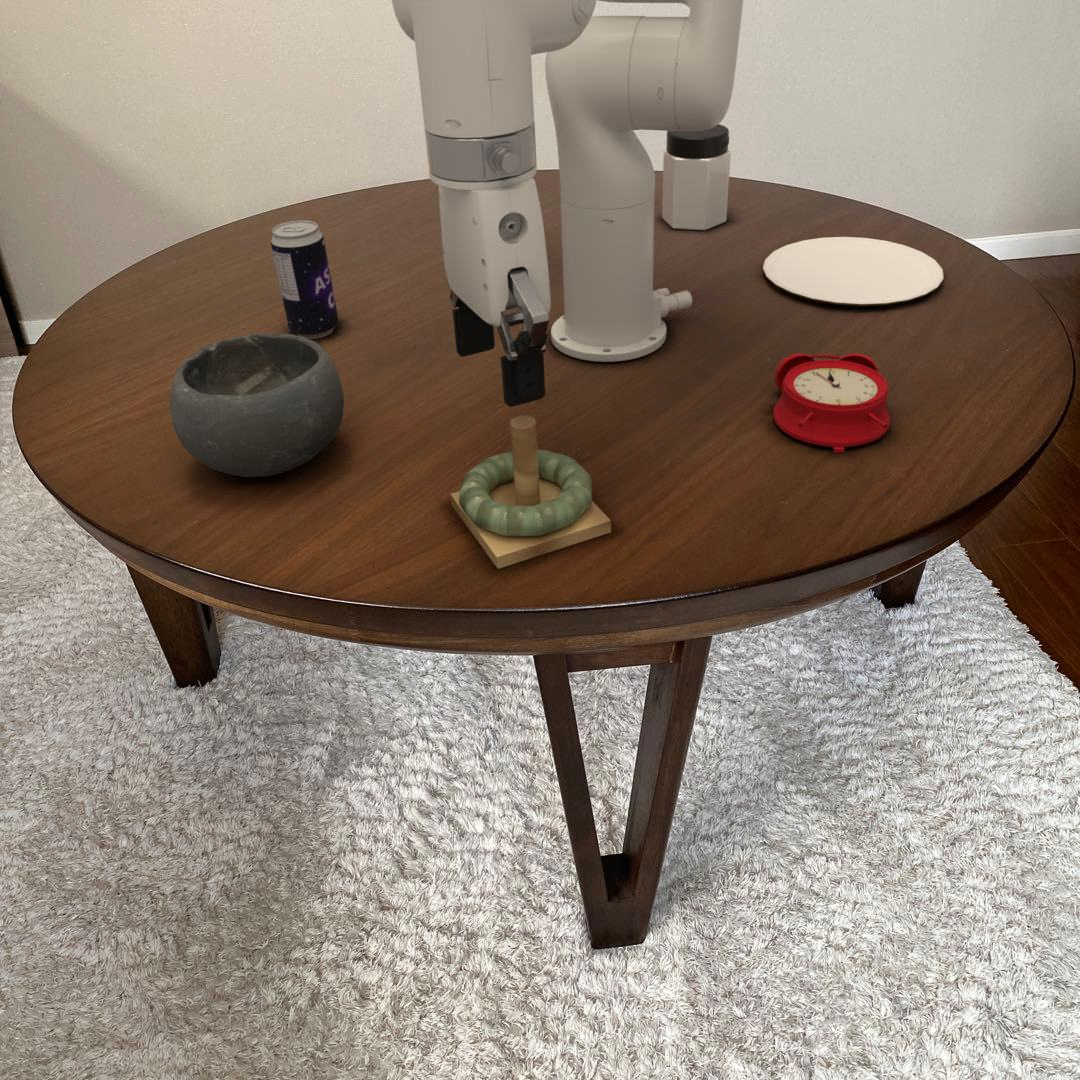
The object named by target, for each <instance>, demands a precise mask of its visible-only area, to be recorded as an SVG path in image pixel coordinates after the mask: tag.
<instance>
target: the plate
mask: <svg viewBox="0 0 1080 1080" xmlns="http://www.w3.org/2000/svg"><path fill="white" fill-rule="evenodd" d="M762 271H763V273H764V276H765V278H766V279H767V281H769V282H771V283H772V284H773V285H774V286H775V287H776V288H778V289H780V290H782V291H783V292H786V293H788V294H790V295H792V296H796V297H800V298H803V299H806V300H810V301H813V302H818V303H825V304H831V305H835V306H851V307H876V306H877V307H878V306H889V305H895V304H896V305H897V304H902V303H907V302H911V301H914V300H917V299H921V298H924V297H925V296H927V295H929V294H930V293H932V292H934V291H936V290H937V289H939V287H940V285H941V284H942V282H943V281H944V279H945V278H944V269H943V268H942V266H941V265H940V264H939V263H938V262H937V260H936V259H935V258H933V257H931V256H930V255H928V254H926V253H924V252H923V251H921V250H918V249H916V248H913V247H910V246H907V245H905V244H901V243H897V242H892V241H888V240H884V239H883V240H882V239H877V238H868V237H856V236H834V237H833V236H832V237H831V236H830V237H829V236H828V237H818V238H811V239H804V240H800V241H797V242H792V243H790V244H786V245H784V246H782V247H780V248H778V249H775V250H774V251H772V252H771V254H768V256H767V257H766V258H765V259H764V262H763V265H762Z"/></svg>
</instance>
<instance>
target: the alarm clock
mask: <svg viewBox="0 0 1080 1080" xmlns="http://www.w3.org/2000/svg"><path fill="white" fill-rule="evenodd" d="M814 358H815V359H816V358H825V359H820V360H815V359H814ZM774 382H775V386H776V387H777V389H778V390H779V391H780V392H781V396H780V398H779V399H778V401H777V402H776V404H775V405H774V407H773V415H772V417H773V421H774V423H775V424H776V426H777V427H778V428H779V429H780V430H781V431H782V432H784V433H785V434H787V435H788V436H790V437H791V438H793V439H796V440H798V441H801V442H805V443H807V444H812V445H817V446H821V447H822V446H824V447H830V448H831V447H832V448H833V451H832V453H835V454H844V453H845V451H846V449H845V448H846V447H848V448H849V447H856V446H862V445H866V444H869V443H871V442H874V441H876V440H878V439H880V438H881V437H883V436H884V435H885V434H886V433H887V432H888V430H889V427H890V423H891V417H890V414H889V411H888V408H887V400H888V396H889V387H888V383H887V380H886V378H885V377H884V376H883V375H882V374H881V373H880V372H879V368H878V365H877V363H876V362H875V360H874V359H872V357H870V356H868V355H866V354H863V353H859V352H858V353H855V352H854V353H848V354H845V355H843V356H840V355H839V356H838V355H831V354H812V355H811V354H810V355H809V354H808V353H807V354H806V353H802V352H798V353H793V354H790V355H788V356H786V357H784V358H783V359H782V360H781V361H780V362H779V364H778V365H777V367H776V370H775V374H774Z"/></svg>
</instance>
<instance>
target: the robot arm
mask: <svg viewBox="0 0 1080 1080" xmlns="http://www.w3.org/2000/svg"><path fill="white" fill-rule="evenodd" d="M597 1H598V2H604V3H605V2H606V3H616V4H617V3H619V4H681V5H682V4H683V5H685V6H686V7H688V8H689V15H688V16H646V15H594V12H595V8H596V4H597ZM391 4H392V7H393V12H394V15H395V18H396V21H397V22H398V24H399V27H400V28H401V30H402V31H403V33H404V34H405V35H406V36H407V37H408V38H409V39H410V40H411V41H413V42H414V46H415V55H416V62H417V71H418V80H419V90H420V99H421V108H422V116H423V125H424V137H425V138H424V139H425V146H426V148H425V149H426V156H427V165H428V173H429V181H431V183H433V184H434V185H437V186H438V197H439V198H438V200H439V201H438V202H439V218H440V219H439V221H440V235H441V236H440V237H441V246H442V247H441V248H442V254H443V255H442V256H443V263H444V270H445V275H446V280H447V283H448V286H449V287H450V293H449V301H450V304H451V306H452V308H453V309H451V310H452V318H453V328H454V329H453V330H454V339H455V340H454V341H455V347H456V353H457V354H458V355H459V357H462V358H463V357H467V356H472V355H475V354H481V353H485V352H488V351H492V350H494V348H495V346H496V342H495V331H494V327H495V328H496V330H497V333H498V336H499V340H500V342H501V345H502V348H503V351H504V354H505V355H503V356H500V365H501V380H502V390H503V391H502V392H503V393H502V394H503V402H504V403H505V405H506V406H507V407H508V408H514V407H517V406H520V405H524V404H529V403H532V402H535V401H539V400H542V399H544V398H545V396H546V378H545V357H544V354H545V353H546V350H547V349H546V348H547V347H546V343H547V341H548V336H549V335H548V333H547V330H548V326H549V322H550V316H549V315H550V312H551V309H552V301H551V298H552V297H551V287H550V286H551V285H550V284H551V283H550V273H549V272H550V271H549V263H548V253H547V244H546V235H545V228H544V227H545V226H544V220H543V213H542V208H541V203H540V197H539V192H538V189H537V184H536V179H534V178H533V177H535V175H536V174H537V172H538V166H537V165H538V164H537V144H536V143H537V142H536V123H535V122H536V121H535V110H534V109H535V108H534V89H533V66H532V56H533V55H537V54H538V55H539V54H544V53H546V54H545V62H544V63H545V65H544V66H545V67H544V71H545V72H544V73H545V82H546V88H547V94H548V99H549V104H550V109H551V113H552V119H553V125H554V130H555V131H554V132H555V139H556V146H557V158H558V174H559V200H560V201H559V202H560V231H561V233H560V234H561V258H562V261H561V263H562V285H563V286H562V287H563V288H562V289H563V312H564V313H563V315H562V316H560V317H559V318H558V319H556V320H555V321H554V323H553V324H552V326H551V328H550V339H551V343H552V345H553V346H554V348H556V349H557V350H558V351H559V352H561V353H562V354H564V355H566V356H569V357H571V358H575V359H578V360H582V361H587V362H597V363H616V362H617V363H618V362H625V361H631V360H635V359H639V358H641V357H645V356H647V355H649V354H652V353H654V352H655V351H656V350H658V349H660V348H662V346H663V344H664V343H665V341H666V339H667V325H666V323H665V321H664V320H663V319H662V318H665V317H667V316H668V315H669V313H671V312H679V311H682V310H686V309H690V308H692V306H693V297H692V294H691V293H690V291H688V290H682V291H679V292H678V291H677V292H675V293H671V294H670V290H669V288H668V287H663V288H659V289H655V290H654V256H655V255H654V254H655V253H654V251H655V250H654V249H655V201H656V197H655V196H656V174H655V169H654V166H653V162H652V160H651V157H650V156H649V153H648V152H647V150H646V149H645V146H644V144H643V143H642V142H641V140H640V139H639V136H638V135H637V134H636V132H635V131H640V130H641V131H663V132H665V131H666V132H667V131H704V130H708V129H711V128H714V127H715V126H717V125H718V124H720V123H721V122H722V121H723V120H724V118H725V117H726V114H727V113H728V110H729V107H730V104H731V100H732V96H733V90H734V84H735V76H736V71H737V70H736V69H737V61H738V51H739V42H740V33H741V23H742V16H743V5H744V0H391ZM593 15H594V16H593ZM517 308H518V309H519V311H518V312H514V313H509V314H505V315H504V312H505V311H508V310H513V309H517ZM522 324H523V326H522V327H523V328H524V329H523V330H521V331H519V332H518V334H517V336H516V337H515V338H514V337H513V333H512V331H511V327H513V326H517V325H522Z"/></svg>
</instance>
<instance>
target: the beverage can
mask: <svg viewBox="0 0 1080 1080" xmlns="http://www.w3.org/2000/svg"><path fill="white" fill-rule="evenodd" d="M271 233H272V237H271V240H270V246H271V251H272V255H273V256H272V257H273V261H274V265H275V269H276V275H277V279H278V283H279V288H280V294H281V298H282V302H283V307H284V312H285V317H286V322H287V326H288V329H289V330H290V331H291V332H292V333H293V334H295V335H296V336H301V337H305V338H307V339H309V340H315V339H320V338H324V337H327V336H329V335H330V334H331V333H333V331H334V329H335V328H336V326H337V325H338V324H339V322H340V320H339V315H338V309H337V305H336V304H337V303H336V299H335V294H334V293H335V292H334V287H333V281H332V277H331V271H330V265H329V264H330V263H329V259H328V254H327V248H326V243H325V238H324V235H323V233H322V232H321V231H320V229H319V225H318V223H317V222H315V221H312V220H304V219H303V220H301V219H300V220H291V221H286V222H282V223H280V224H278V225H276V226H274V227H273V228H272V230H271Z"/></svg>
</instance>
